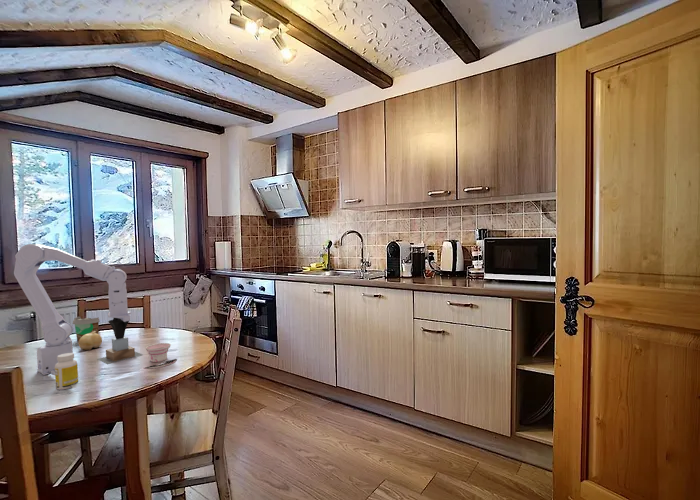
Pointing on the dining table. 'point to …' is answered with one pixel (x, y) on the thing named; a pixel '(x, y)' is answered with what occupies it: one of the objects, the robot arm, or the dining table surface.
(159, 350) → the teacup
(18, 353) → the dining table surface
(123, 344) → the gray cube
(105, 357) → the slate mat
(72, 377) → the supplement bottle
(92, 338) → the tan round lump
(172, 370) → the dining table surface
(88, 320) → the food container
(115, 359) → the walnut slab
